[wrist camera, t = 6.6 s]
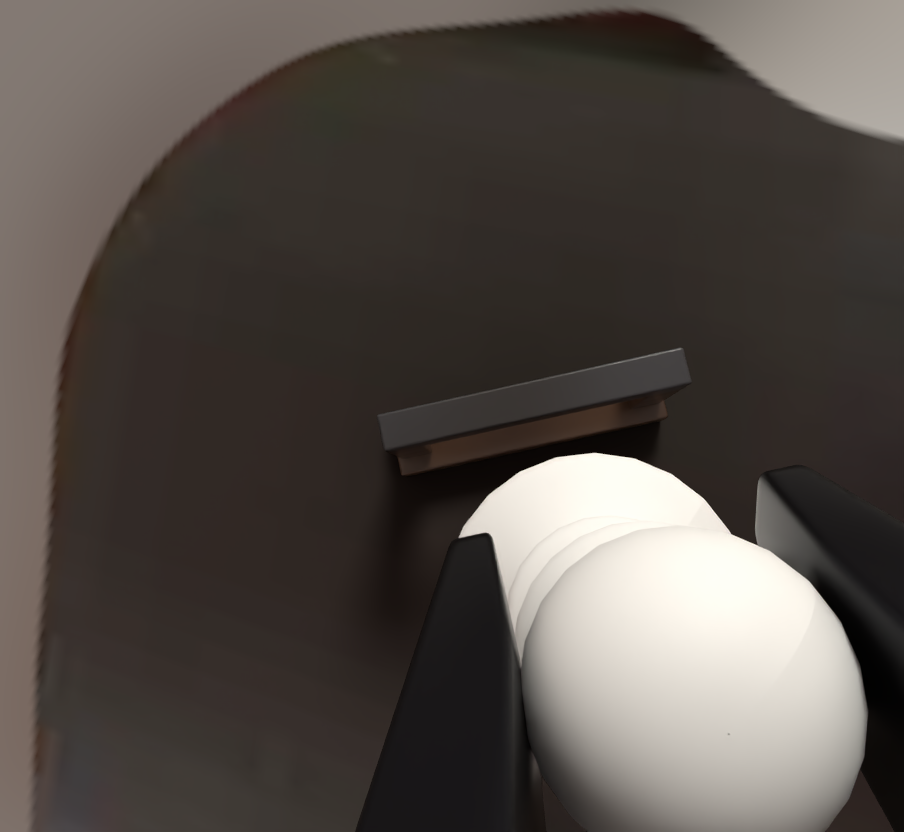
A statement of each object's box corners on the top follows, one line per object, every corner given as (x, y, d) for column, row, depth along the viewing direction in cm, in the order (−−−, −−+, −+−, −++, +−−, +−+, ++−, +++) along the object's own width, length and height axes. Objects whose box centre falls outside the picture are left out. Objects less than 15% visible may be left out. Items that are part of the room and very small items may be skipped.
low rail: (647, 360, 21) (683, 326, 17) (662, 420, 20) (702, 401, 16) (392, 417, 21) (367, 397, 17) (404, 477, 21) (382, 470, 17)
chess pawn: (586, 802, 14) (741, 1311, 5) (391, 592, 15) (224, 718, 6) (785, 601, 14) (1271, 752, 5) (585, 402, 15) (717, 238, 6)
